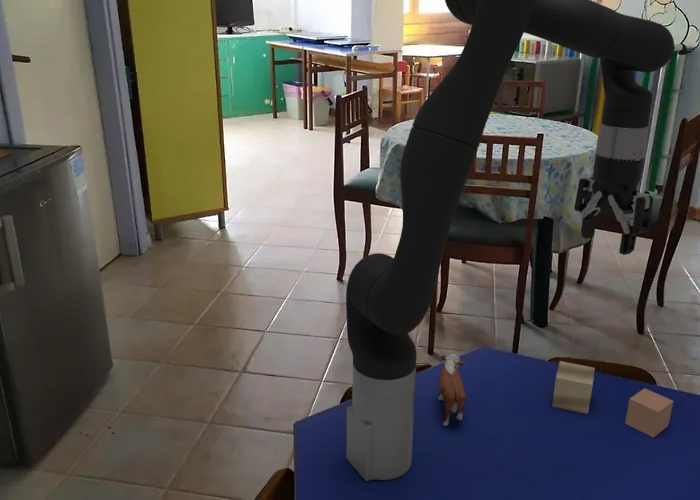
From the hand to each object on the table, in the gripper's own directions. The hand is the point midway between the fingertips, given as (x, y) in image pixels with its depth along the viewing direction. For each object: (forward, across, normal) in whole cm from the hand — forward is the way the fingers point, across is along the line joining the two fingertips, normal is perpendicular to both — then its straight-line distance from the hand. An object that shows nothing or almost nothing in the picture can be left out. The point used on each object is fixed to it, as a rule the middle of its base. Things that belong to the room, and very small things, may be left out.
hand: (605, 245), depth 115 cm
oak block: (+27, +4, -7) cm, 28 cm away
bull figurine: (+28, -4, -27) cm, 39 cm away
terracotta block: (+28, +14, 0) cm, 31 cm away
